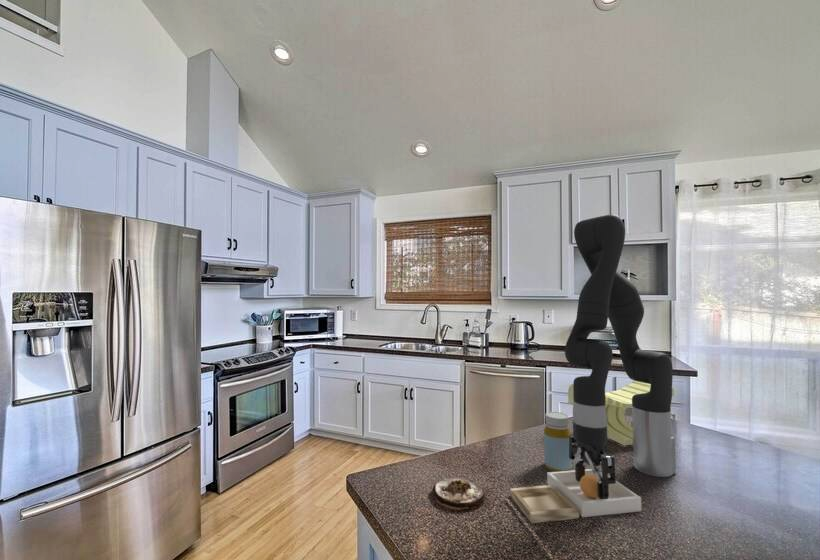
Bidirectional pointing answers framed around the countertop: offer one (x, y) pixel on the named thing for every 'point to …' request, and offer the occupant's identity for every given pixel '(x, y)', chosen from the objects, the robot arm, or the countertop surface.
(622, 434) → the pale yellow ridged piece
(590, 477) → the ball
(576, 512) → the tray
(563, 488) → the dish
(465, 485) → the sushi roll
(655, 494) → the countertop surface
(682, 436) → the countertop surface
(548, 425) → the bottle
